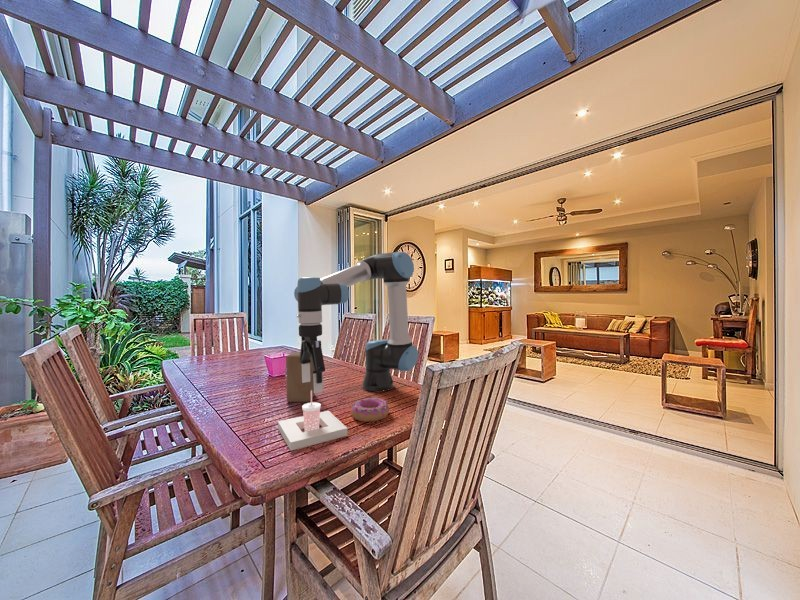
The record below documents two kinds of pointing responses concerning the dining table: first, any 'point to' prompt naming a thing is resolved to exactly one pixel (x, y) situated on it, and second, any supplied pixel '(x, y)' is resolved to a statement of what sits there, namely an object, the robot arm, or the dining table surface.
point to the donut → (370, 409)
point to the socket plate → (300, 440)
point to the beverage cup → (311, 415)
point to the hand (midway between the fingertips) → (312, 387)
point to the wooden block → (298, 380)
